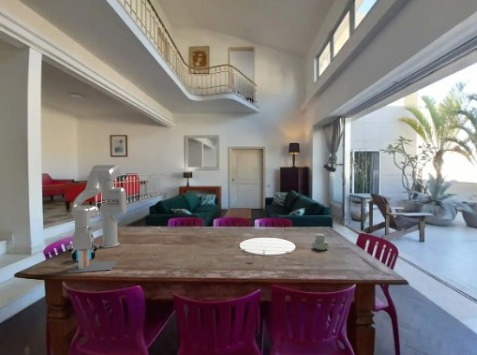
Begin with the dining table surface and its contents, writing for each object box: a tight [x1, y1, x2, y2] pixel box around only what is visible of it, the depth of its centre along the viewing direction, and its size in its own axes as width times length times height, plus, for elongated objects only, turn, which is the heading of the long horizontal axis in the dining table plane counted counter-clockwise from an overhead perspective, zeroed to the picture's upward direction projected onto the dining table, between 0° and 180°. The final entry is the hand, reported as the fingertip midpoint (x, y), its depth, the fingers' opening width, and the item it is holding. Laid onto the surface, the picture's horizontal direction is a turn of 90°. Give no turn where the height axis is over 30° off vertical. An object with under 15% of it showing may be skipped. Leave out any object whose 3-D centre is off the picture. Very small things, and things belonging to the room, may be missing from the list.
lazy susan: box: [239, 237, 296, 257], centre depth 192 cm, size 40×39×3 cm
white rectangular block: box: [77, 250, 90, 269], centre depth 154 cm, size 7×3×10 cm, turn 10°
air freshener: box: [311, 233, 329, 251], centre depth 185 cm, size 11×8×10 cm
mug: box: [75, 250, 92, 262], centre depth 167 cm, size 12×8×8 cm
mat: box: [66, 260, 118, 274], centre depth 155 cm, size 14×22×1 cm, turn 100°
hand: (83, 259), depth 154 cm, fingers open, 9 cm apart
